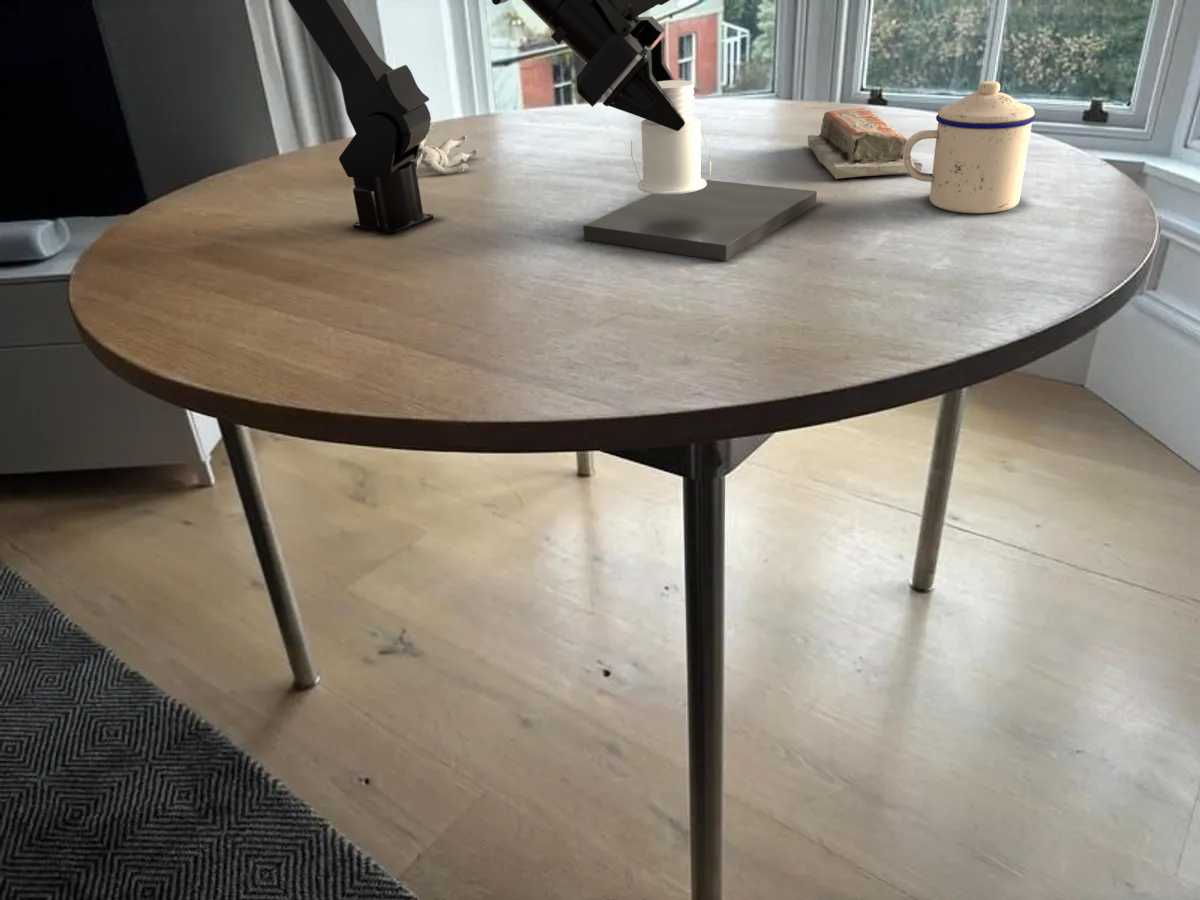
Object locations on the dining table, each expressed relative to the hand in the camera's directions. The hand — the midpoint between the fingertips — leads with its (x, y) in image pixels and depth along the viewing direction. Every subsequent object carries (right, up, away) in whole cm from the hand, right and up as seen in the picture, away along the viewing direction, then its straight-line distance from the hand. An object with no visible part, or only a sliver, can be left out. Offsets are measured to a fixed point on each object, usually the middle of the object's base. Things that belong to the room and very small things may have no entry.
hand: (685, 120), depth 91 cm
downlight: (-1, -6, +4) cm, 7 cm away
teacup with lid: (+29, -7, +5) cm, 30 cm away
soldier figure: (-29, +5, +33) cm, 45 cm away
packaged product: (+23, +3, +23) cm, 33 cm away
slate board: (+2, -9, +5) cm, 10 cm away
